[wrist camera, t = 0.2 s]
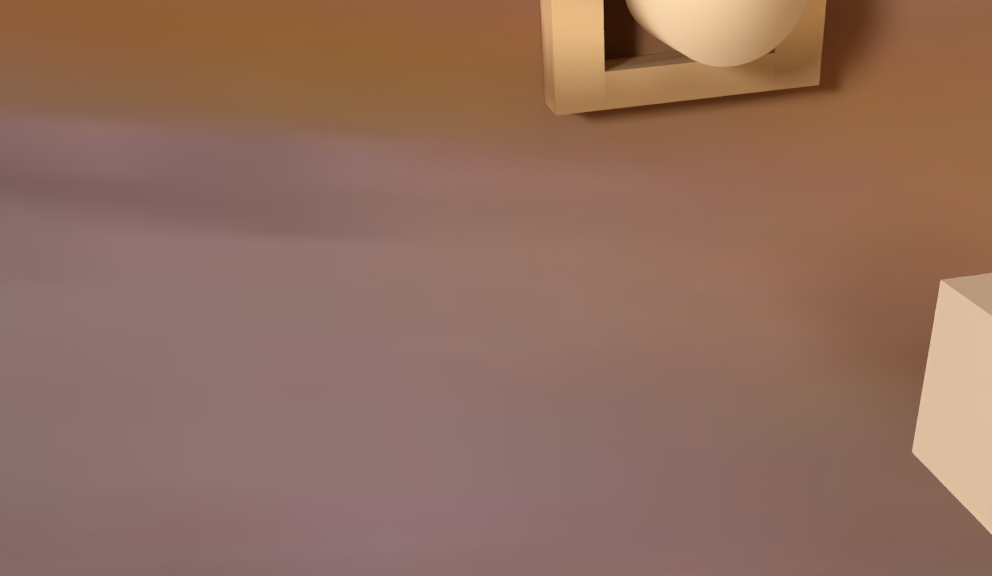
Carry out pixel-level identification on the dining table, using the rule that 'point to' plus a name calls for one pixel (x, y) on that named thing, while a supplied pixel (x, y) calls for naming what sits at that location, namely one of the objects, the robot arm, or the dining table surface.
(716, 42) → the cream button
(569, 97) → the wooden ladder frame
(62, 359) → the dining table surface
